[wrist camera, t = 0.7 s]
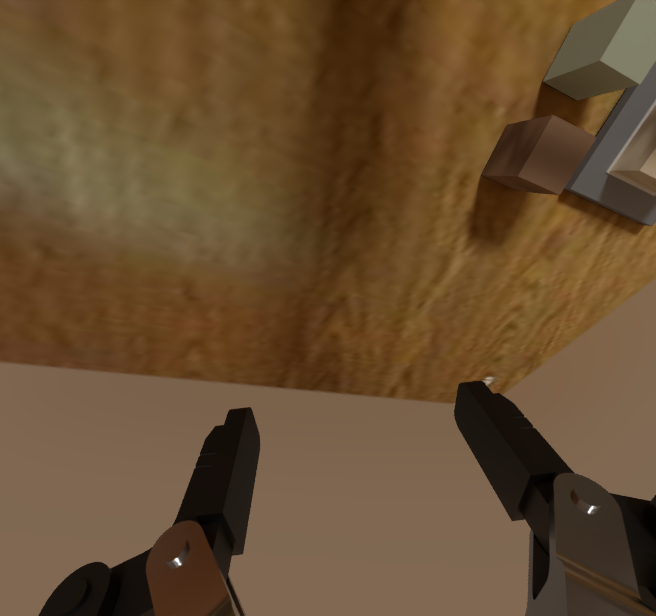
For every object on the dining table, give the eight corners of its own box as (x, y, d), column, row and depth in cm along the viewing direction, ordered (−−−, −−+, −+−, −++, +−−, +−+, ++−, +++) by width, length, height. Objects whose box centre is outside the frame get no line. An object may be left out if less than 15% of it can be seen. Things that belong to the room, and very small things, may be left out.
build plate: (651, 50, 27) (664, 45, 26) (737, 105, 30) (752, 103, 29) (562, 188, 32) (571, 188, 31) (643, 224, 35) (652, 226, 34)
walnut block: (507, 124, 29) (553, 114, 24) (544, 143, 30) (596, 137, 25) (481, 175, 31) (517, 176, 26) (517, 191, 32) (559, 195, 27)
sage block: (573, 24, 26) (643, -14, 20) (609, 46, 27) (685, 15, 21) (542, 81, 28) (599, 60, 22) (577, 100, 29) (640, 84, 23)
